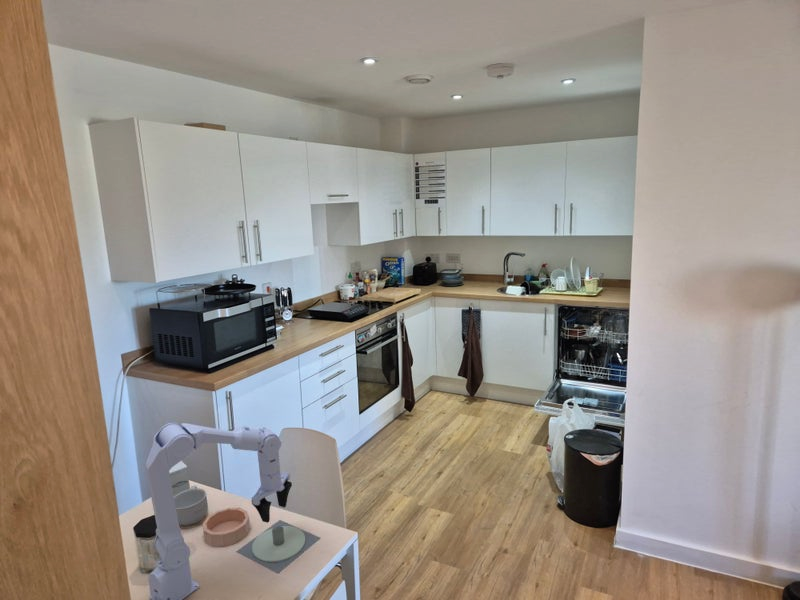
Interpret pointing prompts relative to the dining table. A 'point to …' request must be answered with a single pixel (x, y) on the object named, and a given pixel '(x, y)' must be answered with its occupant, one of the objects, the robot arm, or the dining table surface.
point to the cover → (278, 544)
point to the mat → (279, 566)
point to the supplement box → (179, 478)
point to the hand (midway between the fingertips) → (274, 513)
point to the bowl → (226, 527)
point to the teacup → (191, 506)
